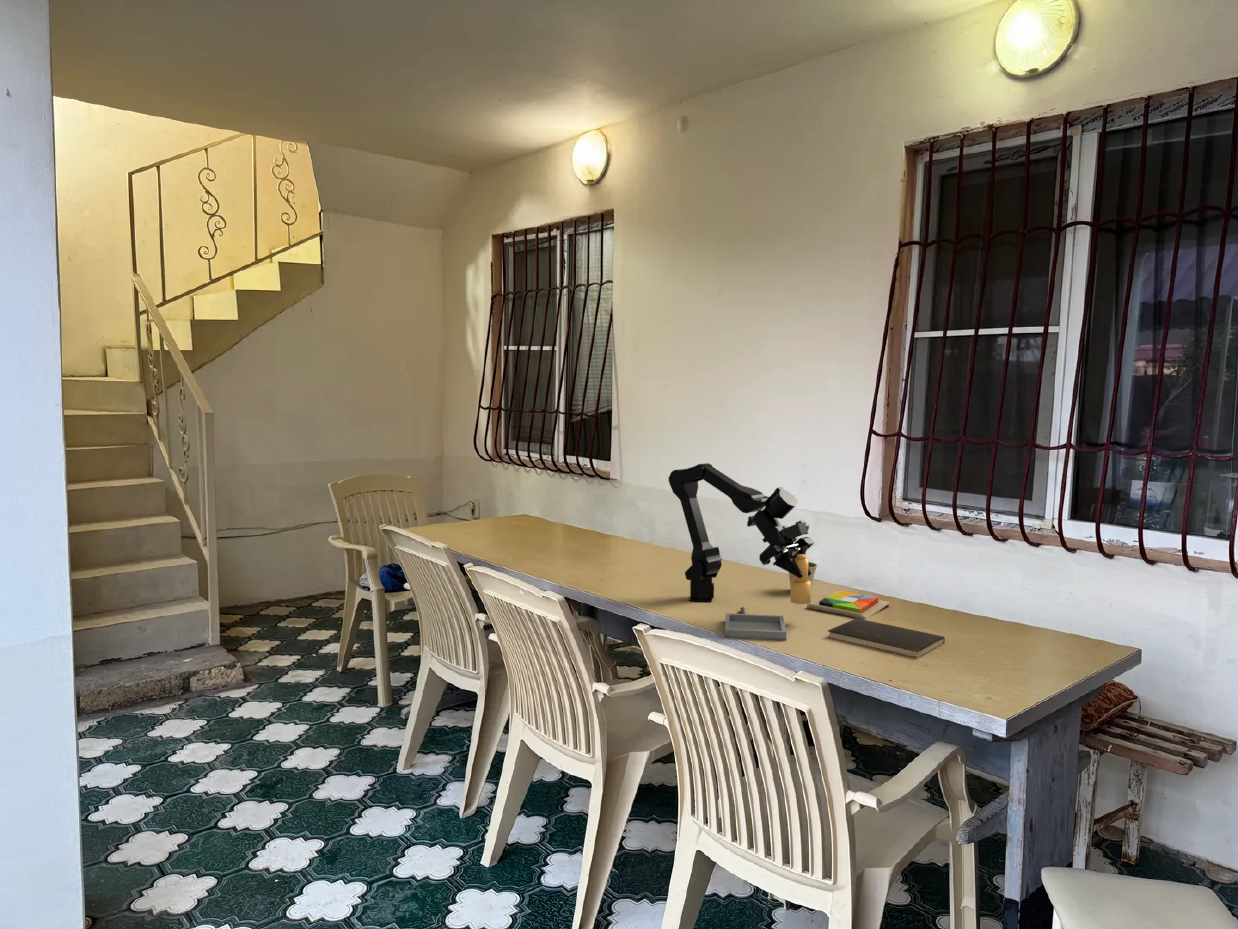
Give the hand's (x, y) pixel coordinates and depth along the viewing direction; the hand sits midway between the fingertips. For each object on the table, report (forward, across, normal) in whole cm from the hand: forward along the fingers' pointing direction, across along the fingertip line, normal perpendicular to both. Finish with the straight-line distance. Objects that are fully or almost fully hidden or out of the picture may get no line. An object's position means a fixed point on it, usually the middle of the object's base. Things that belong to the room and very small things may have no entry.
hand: (805, 576), depth 214 cm
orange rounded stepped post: (+4, 0, +6) cm, 7 cm away
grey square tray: (+5, -14, +13) cm, 20 cm away
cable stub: (-2, -6, +20) cm, 21 cm away
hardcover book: (+25, +2, -6) cm, 26 cm away
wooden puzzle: (+10, +23, +10) cm, 27 cm away
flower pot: (-4, +29, +23) cm, 37 cm away
